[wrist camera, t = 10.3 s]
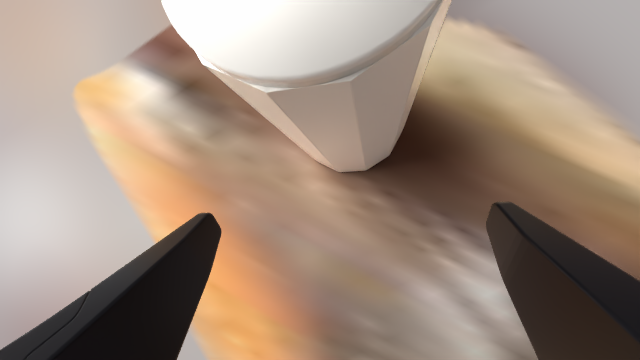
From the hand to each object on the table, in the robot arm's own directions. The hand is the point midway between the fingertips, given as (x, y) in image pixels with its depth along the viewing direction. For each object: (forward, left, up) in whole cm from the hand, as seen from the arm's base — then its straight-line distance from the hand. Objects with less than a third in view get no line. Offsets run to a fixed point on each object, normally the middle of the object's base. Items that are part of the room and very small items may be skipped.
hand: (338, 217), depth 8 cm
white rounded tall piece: (+6, -2, -8) cm, 10 cm away
